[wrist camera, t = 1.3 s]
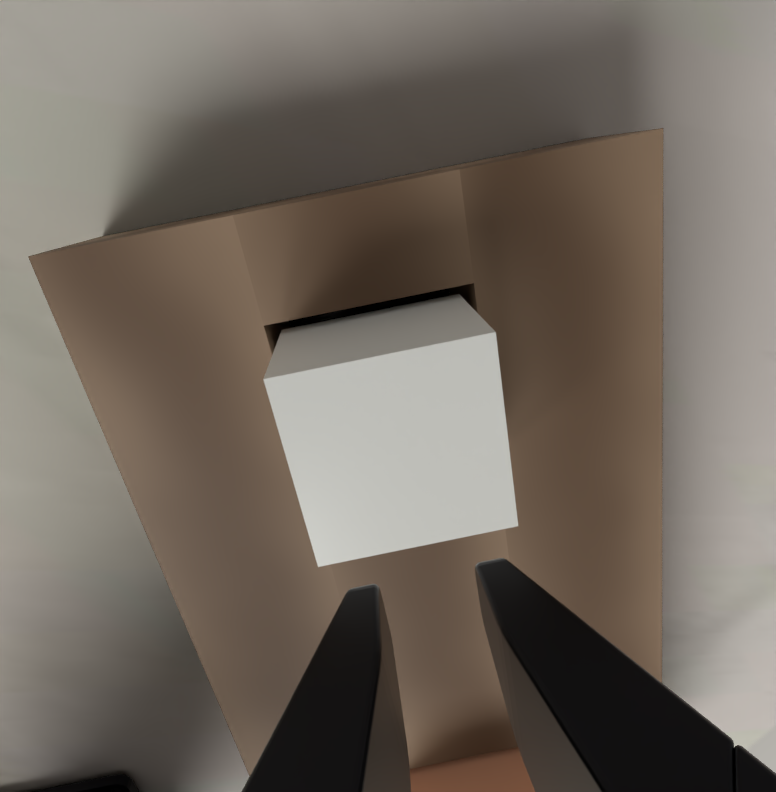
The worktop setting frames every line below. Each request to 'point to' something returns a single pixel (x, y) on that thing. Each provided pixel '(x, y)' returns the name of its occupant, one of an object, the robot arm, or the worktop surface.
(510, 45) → the worktop surface
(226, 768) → the worktop surface
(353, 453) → the grey button
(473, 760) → the terracotta button
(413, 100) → the worktop surface
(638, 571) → the button panel
